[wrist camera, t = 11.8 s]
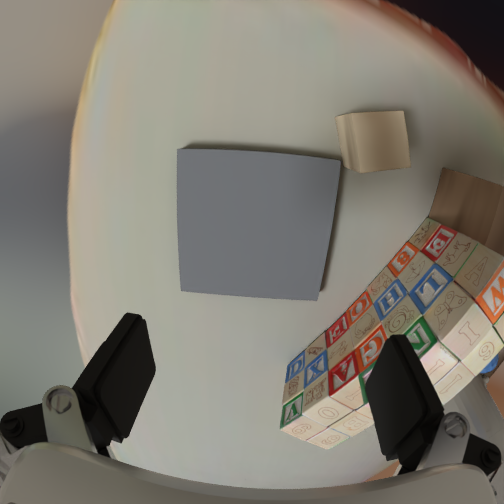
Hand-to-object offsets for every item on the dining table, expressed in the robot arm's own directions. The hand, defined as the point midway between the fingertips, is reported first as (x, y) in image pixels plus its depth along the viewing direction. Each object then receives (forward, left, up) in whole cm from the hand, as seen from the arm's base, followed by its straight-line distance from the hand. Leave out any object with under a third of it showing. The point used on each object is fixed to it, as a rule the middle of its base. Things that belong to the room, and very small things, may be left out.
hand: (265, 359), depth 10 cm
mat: (+1, -1, -14) cm, 14 cm away
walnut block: (-18, -5, -14) cm, 23 cm away
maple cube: (-7, -9, -14) cm, 18 cm away
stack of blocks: (-12, +8, -13) cm, 19 cm away
